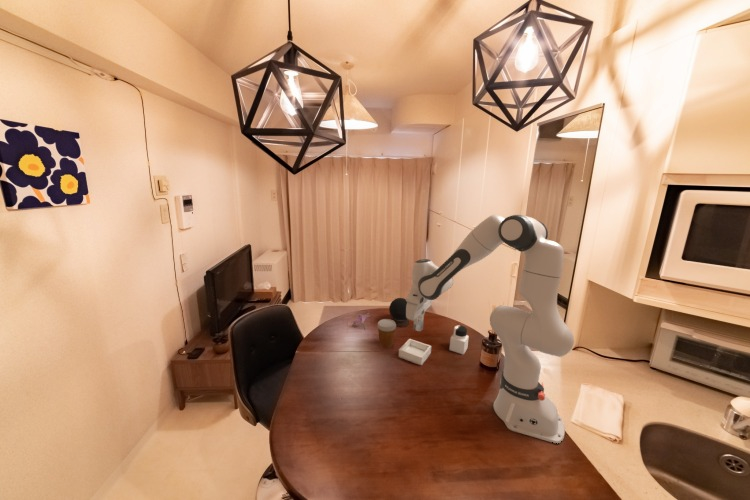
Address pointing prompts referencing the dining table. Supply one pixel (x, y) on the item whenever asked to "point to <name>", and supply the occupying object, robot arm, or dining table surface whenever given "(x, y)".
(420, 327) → the salt shaker
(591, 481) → the dining table surface
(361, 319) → the lily
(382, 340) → the disposable coffee cup
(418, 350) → the white square tray
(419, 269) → the robot arm
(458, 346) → the medicine bottle
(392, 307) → the black ball on stand
